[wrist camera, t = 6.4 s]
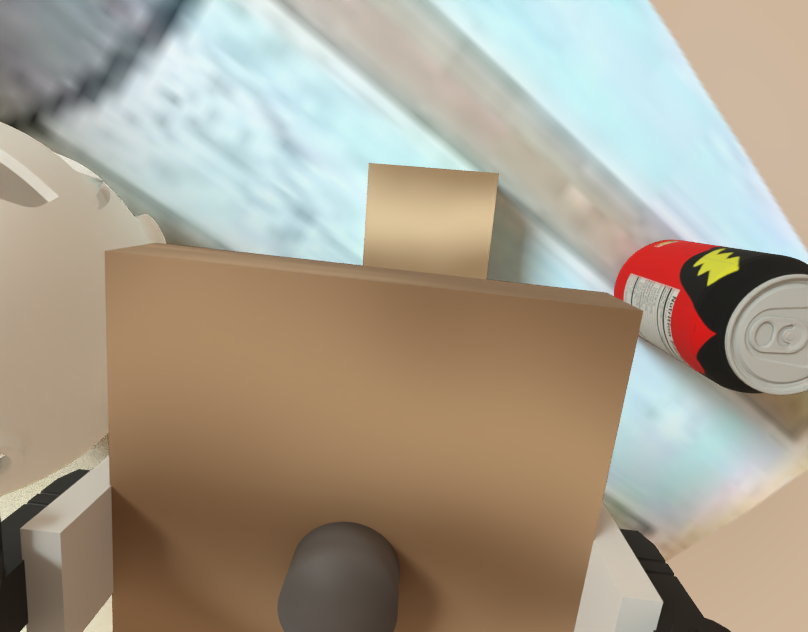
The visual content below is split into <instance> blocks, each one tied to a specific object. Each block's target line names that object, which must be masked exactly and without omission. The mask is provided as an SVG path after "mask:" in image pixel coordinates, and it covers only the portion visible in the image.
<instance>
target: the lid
mask: <svg viewBox="0 0 808 632" xmlns="http://www.w3.org/2000/svg"><path fill="white" fill-rule="evenodd" d="M105 296H106V341H107V386H108V431H109V476H110V486H111V499H112V545H113V591H114V592H113V593H112V612H113V632H574V629H575V624H576V620H577V615H578V610H579V606H580V601H581V596H582V592H583V587H584V583H585V578H586V573H587V569H588V564H589V559H590V555H591V550H592V546H593V541H594V537H595V532H596V528H597V523H598V518H599V514H600V509H601V505H602V500H603V495H604V491H605V486H606V482H607V477H608V472H609V468H610V463H611V458H612V454H613V449H614V445H615V440H616V435H617V431H618V426H619V422H620V417H621V412H622V408H623V403H624V398H625V394H626V389H627V385H628V380H629V375H630V371H631V366H632V362H633V357H634V352H635V348H636V343H637V338H638V334H639V329H640V325H641V320H642V315H643V310H641V309H639V308H637V307H635V306H633V305H630V304H628V303H626V302H624V301H622V300H620V299H618V298H616V297H614V296H612V295H610V294H608V293H604V292H595V291H586V290H577V289H568V288H559V287H550V286H541V285H532V284H523V283H514V282H505V281H497V280H488V279H479V278H470V277H461V276H452V275H443V274H434V273H425V272H416V271H407V270H398V269H389V268H380V267H371V266H362V265H353V264H344V263H335V262H326V261H317V260H308V259H299V258H290V257H281V256H272V255H263V254H254V253H245V252H236V251H227V250H218V249H209V248H200V247H191V246H182V245H173V244H164V243H151V244H145V245H138V246H132V247H126V248H120V249H113V250H107V251H105Z"/></svg>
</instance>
